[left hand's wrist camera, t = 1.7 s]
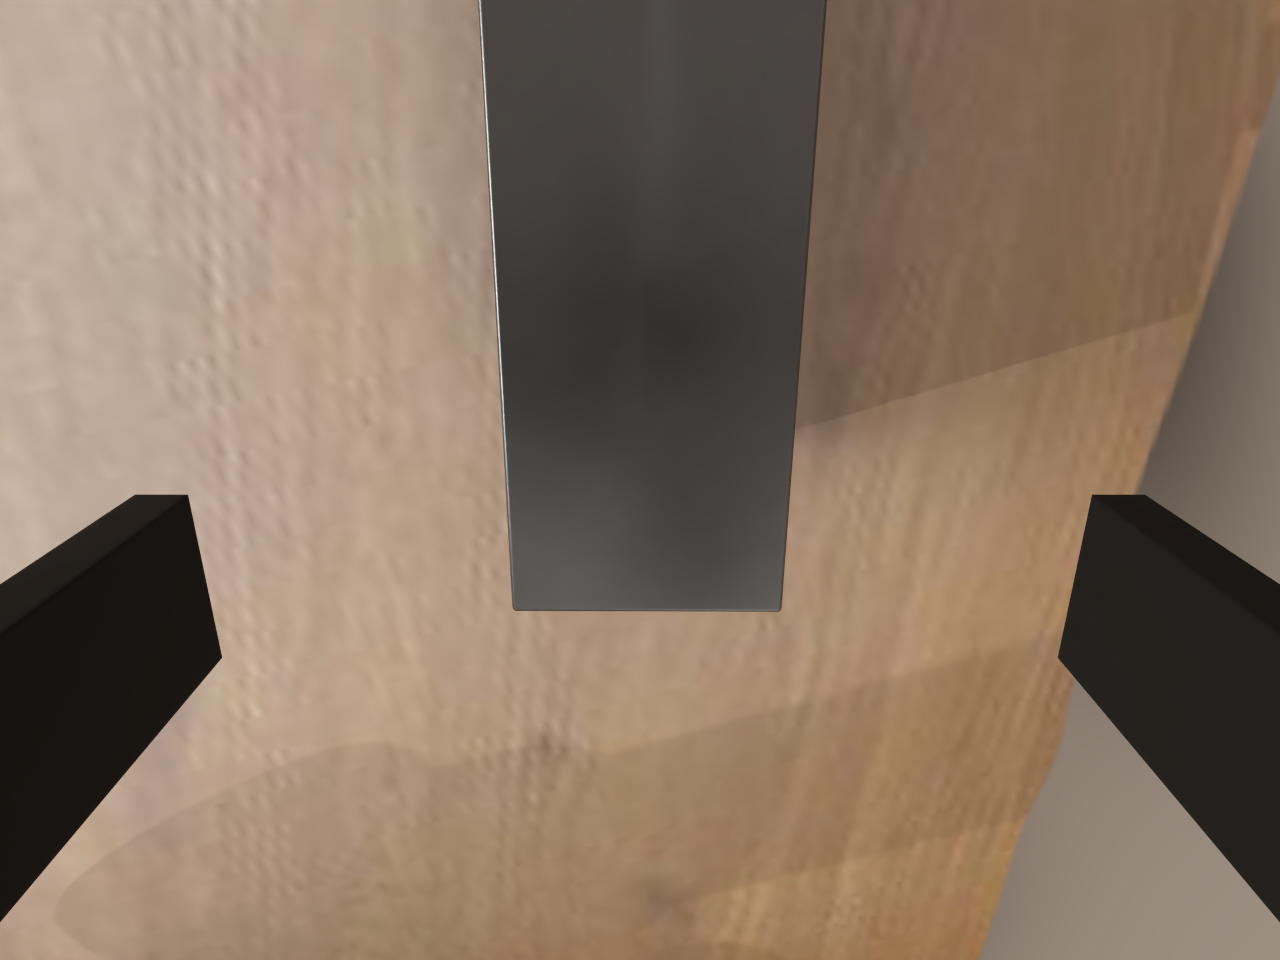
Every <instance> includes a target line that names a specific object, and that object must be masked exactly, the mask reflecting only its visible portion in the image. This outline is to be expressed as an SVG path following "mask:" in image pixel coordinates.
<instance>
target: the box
mask: <svg viewBox="0 0 1280 960" xmlns="http://www.w3.org/2000/svg"><path fill="white" fill-rule="evenodd" d="M826 5H827V0H478V6H479V23H480V41H481V59H482V76H483V94H484V112H485V129H486V147H487V165H488V182H489V200H490V218H491V235H492V253H493V271H494V288H495V306H496V324H497V341H498V359H499V377H500V394H501V412H502V430H503V447H504V465H505V483H506V500H507V518H508V536H509V553H510V571H511V589H512V606H513V609H514V610H516V611H775V612H778V611H780V610H781V607H782V594H783V580H784V567H785V554H786V540H787V527H788V514H789V500H790V487H791V474H792V460H793V447H794V433H795V420H796V407H797V393H798V380H799V367H800V353H801V340H802V326H803V313H804V300H805V286H806V273H807V259H808V246H809V233H810V219H811V206H812V193H813V179H814V166H815V153H816V139H817V126H818V112H819V99H820V86H821V72H822V59H823V46H824V32H825V19H826Z"/></svg>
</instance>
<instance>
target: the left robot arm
mask: <svg viewBox="0 0 1280 960" xmlns="http://www.w3.org/2000/svg"><path fill="white" fill-rule="evenodd" d="M221 658H222V655H221V650H220V645H219V640H218V636H217V631H216V626H215V621H214V617H213V612H212V607H211V602H210V598H209V593H208V588H207V583H206V579H205V574H204V569H203V564H202V560H201V555H200V550H199V545H198V541H197V536H196V531H195V526H194V522H193V517H192V512H191V507H190V503H189V498H188V495H134V496H133V497H131V498H130V499H128V500H127V501H125V502H124V503H122V504H121V505H119V506H117V507H116V508H114V509H113V510H111V511H110V512H108V513H107V514H105V515H104V516H102V517H101V518H99V519H98V520H96V521H95V522H93V523H92V524H90V525H89V526H87V527H86V528H84V529H83V530H81V531H80V532H78V533H77V534H75V535H74V536H72V537H71V538H69V539H68V540H66V541H65V542H63V543H62V544H60V545H59V546H57V547H56V548H54V549H53V550H51V551H50V552H48V553H47V554H45V555H44V556H42V557H41V558H39V559H38V560H36V561H35V562H33V563H32V564H30V565H29V566H27V567H26V568H24V569H23V570H21V571H20V572H18V573H17V574H15V575H14V576H12V577H11V578H9V579H8V580H6V581H5V582H3V583H2V584H0V922H1V921H2V919H3V918H4V917H5V916H6V915H7V913H8V912H9V911H10V910H11V909H12V907H13V906H14V905H15V904H16V903H17V901H18V900H19V899H20V898H21V897H22V895H23V894H24V893H25V892H26V891H27V890H28V888H29V887H30V886H31V885H32V884H33V882H34V881H35V880H36V879H37V878H38V876H39V875H40V874H41V873H42V872H43V870H44V869H45V868H46V867H47V866H48V864H49V863H50V862H51V861H52V860H53V859H54V857H55V856H56V855H57V854H58V853H59V851H60V850H61V849H62V848H63V847H64V845H65V844H66V843H67V842H68V841H69V839H70V838H71V837H72V836H73V835H74V833H75V832H76V831H77V830H78V829H79V828H80V826H81V825H82V824H83V823H84V822H85V820H86V819H87V818H88V817H89V816H90V814H91V813H92V812H93V811H94V810H95V808H96V807H97V806H98V805H99V804H100V802H101V801H102V800H103V799H104V798H105V797H106V795H107V794H108V793H109V792H110V791H111V789H112V788H113V787H114V786H115V785H116V783H117V782H118V781H119V780H120V779H121V777H122V776H123V775H124V774H125V773H126V771H127V770H128V769H129V768H130V767H131V766H132V764H133V763H134V762H135V761H136V760H137V758H138V757H139V756H140V755H141V754H142V752H143V751H144V750H145V749H146V748H147V746H148V745H149V744H150V743H151V742H152V741H153V739H154V738H155V737H156V736H157V735H158V733H159V732H160V731H161V730H162V729H163V727H164V726H165V725H166V724H167V723H168V721H169V720H170V719H171V718H172V717H173V715H174V714H175V713H176V712H177V711H178V710H179V708H180V707H181V706H182V705H183V704H184V702H185V701H186V700H187V699H188V698H189V696H190V695H191V694H192V693H193V692H194V690H195V689H196V688H197V687H198V686H199V684H200V683H201V682H202V681H203V680H204V679H205V677H206V676H207V675H208V674H209V673H210V671H211V670H212V669H213V668H214V667H215V665H216V664H217V663H218V662H219V661H220V659H221ZM1058 658H1059V659H1060V661H1061V662H1062V663H1063V664H1064V665H1065V667H1066V668H1067V669H1068V670H1069V671H1070V673H1071V674H1072V675H1073V676H1074V677H1075V679H1076V680H1077V681H1078V682H1079V683H1080V684H1081V686H1082V687H1083V688H1084V689H1085V690H1086V692H1087V693H1088V694H1089V695H1090V696H1091V698H1092V699H1093V700H1094V701H1095V702H1096V704H1097V705H1098V706H1099V707H1100V708H1101V709H1102V711H1103V712H1104V713H1105V714H1106V715H1107V717H1108V718H1109V719H1110V720H1111V721H1112V723H1113V724H1114V725H1115V726H1116V727H1117V729H1118V730H1119V731H1120V732H1121V733H1122V735H1123V736H1124V737H1125V738H1126V739H1127V740H1128V742H1129V743H1130V744H1131V745H1132V746H1133V748H1134V749H1135V750H1136V751H1137V752H1138V754H1139V755H1140V756H1141V757H1142V758H1143V760H1144V761H1145V762H1146V763H1147V764H1148V766H1149V767H1150V768H1151V769H1152V770H1153V771H1154V773H1155V774H1156V775H1157V776H1158V777H1159V779H1160V780H1161V781H1162V782H1163V783H1164V785H1165V786H1166V787H1167V788H1168V789H1169V791H1170V792H1171V793H1172V794H1173V795H1174V797H1175V798H1176V799H1177V800H1178V801H1179V802H1180V804H1181V805H1182V806H1183V807H1184V808H1185V810H1186V811H1187V812H1188V813H1189V814H1190V816H1191V817H1192V818H1193V819H1194V820H1195V822H1196V823H1197V824H1198V825H1199V826H1200V828H1201V829H1202V830H1203V831H1204V832H1205V833H1206V835H1207V836H1208V837H1209V838H1210V839H1211V841H1212V842H1213V843H1214V844H1215V845H1216V847H1217V848H1218V849H1219V850H1220V851H1221V853H1222V854H1223V855H1224V856H1225V857H1226V859H1227V860H1228V861H1229V862H1230V863H1231V864H1232V866H1233V867H1234V868H1235V869H1236V870H1237V872H1238V873H1239V874H1240V875H1241V876H1242V878H1243V879H1244V880H1245V881H1246V882H1247V884H1248V885H1249V886H1250V887H1251V888H1252V889H1253V891H1254V892H1255V893H1256V894H1257V895H1258V897H1259V898H1260V899H1261V900H1262V901H1263V903H1264V904H1265V905H1266V906H1267V907H1268V909H1269V910H1270V911H1271V912H1272V913H1273V915H1274V916H1275V917H1276V918H1277V919H1278V920H1279V922H1280V584H1278V583H1277V582H1275V581H1274V580H1272V579H1271V578H1269V577H1268V576H1266V575H1265V574H1263V573H1262V572H1260V571H1259V570H1257V569H1256V568H1254V567H1253V566H1251V565H1250V564H1248V563H1247V562H1245V561H1244V560H1242V559H1241V558H1239V557H1238V556H1236V555H1235V554H1233V553H1232V552H1230V551H1229V550H1227V549H1226V548H1224V547H1223V546H1221V545H1220V544H1218V543H1217V542H1215V541H1214V540H1212V539H1211V538H1209V537H1208V536H1206V535H1205V534H1203V533H1202V532H1200V531H1199V530H1197V529H1196V528H1194V527H1193V526H1191V525H1189V524H1188V523H1187V522H1185V521H1184V520H1182V519H1181V518H1179V517H1178V516H1176V515H1175V514H1173V513H1172V512H1170V511H1168V510H1167V509H1165V508H1164V507H1162V506H1161V505H1159V504H1158V503H1156V502H1155V501H1153V500H1152V499H1150V498H1149V497H1147V496H1146V495H1092V498H1091V503H1090V507H1089V512H1088V517H1087V522H1086V526H1085V531H1084V536H1083V541H1082V545H1081V550H1080V555H1079V560H1078V564H1077V569H1076V574H1075V579H1074V583H1073V588H1072V593H1071V598H1070V602H1069V607H1068V612H1067V617H1066V621H1065V626H1064V631H1063V636H1062V640H1061V645H1060V650H1059V655H1058Z"/></svg>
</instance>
